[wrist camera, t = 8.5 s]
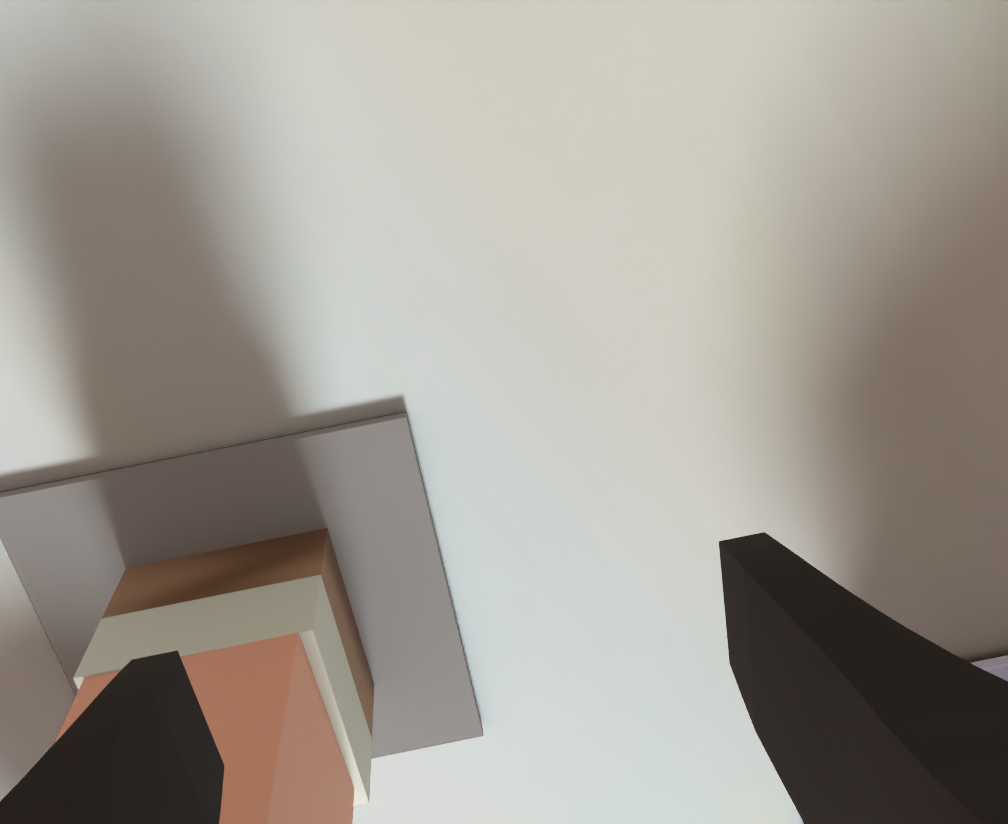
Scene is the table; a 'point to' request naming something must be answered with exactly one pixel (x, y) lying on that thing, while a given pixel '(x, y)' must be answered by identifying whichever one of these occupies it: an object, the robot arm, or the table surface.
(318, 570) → the tower base
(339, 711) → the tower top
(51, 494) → the coaster
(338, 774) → the block
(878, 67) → the table surface
